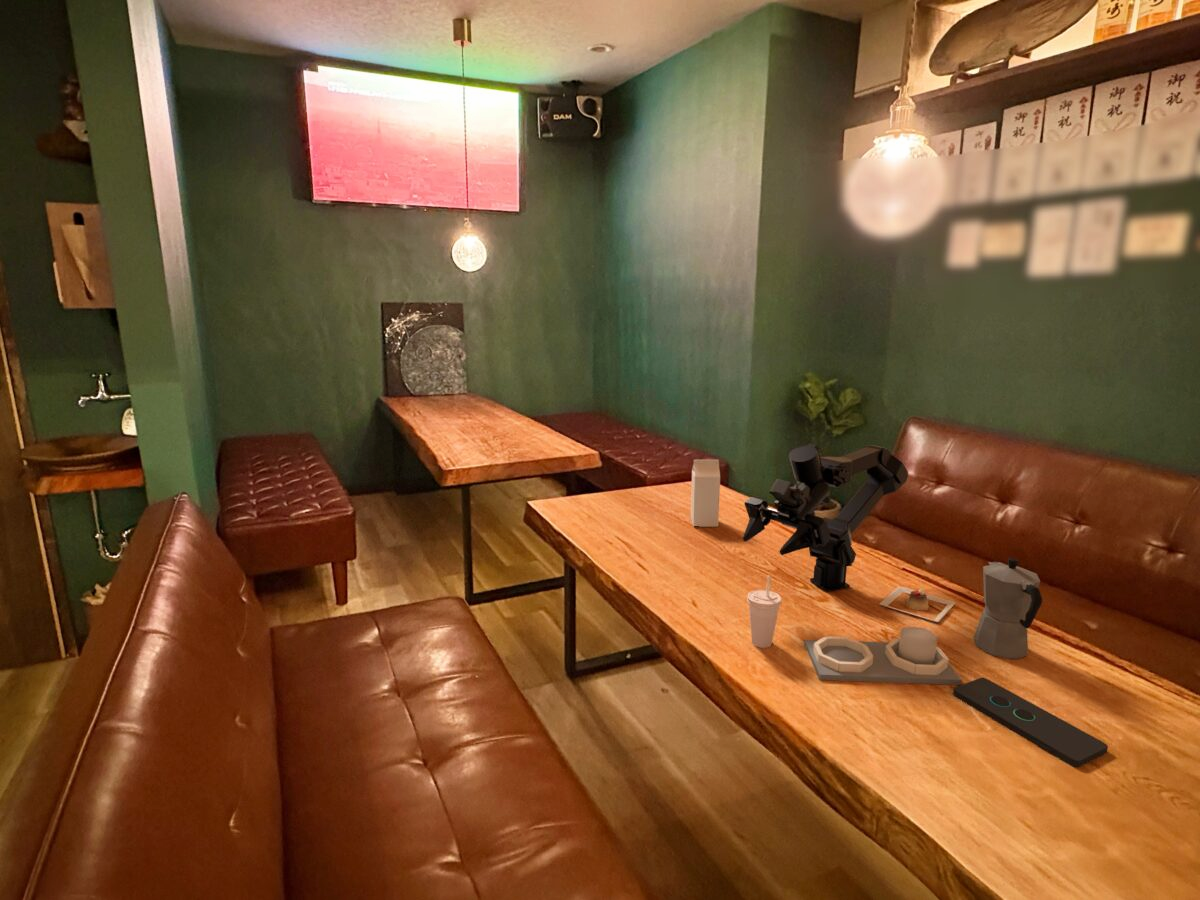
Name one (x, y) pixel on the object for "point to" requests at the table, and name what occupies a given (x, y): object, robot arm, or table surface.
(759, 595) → the smoothie
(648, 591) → the table surface
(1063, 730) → the smart home device
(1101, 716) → the table surface
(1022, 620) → the coffeepot
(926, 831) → the table surface
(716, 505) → the milk carton
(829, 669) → the board
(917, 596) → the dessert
